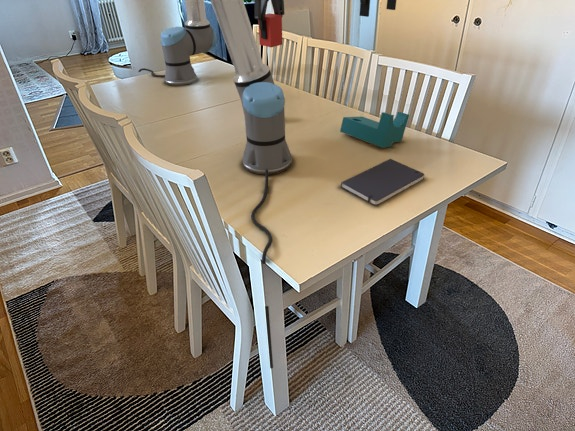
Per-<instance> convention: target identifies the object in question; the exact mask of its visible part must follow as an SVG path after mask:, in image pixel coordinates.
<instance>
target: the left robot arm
mask: <svg viewBox="0 0 575 431" xmlns="http://www.w3.org/2000/svg"><path fill="white" fill-rule="evenodd" d="M269 1H270V2H271V6H272V9H273V14H276V15H282V18H283V16H284V15H285V1H284V0H254V3H253V4H254V6H253V7H254V10H253V12H254V17H253V18H254V20H257V21H258V20H259V23H258V29H259V28H260V30H261V38H263V39H267V25H266V21H265V15H266V14H267V8H268V3H269ZM184 4H185V10H186V11H185V12H186V17H187V19H186V21H184V27H183V26H173V27H169V28H166V29H164V30H162V31H161V33H160V36H159V38H160V45H161V49H162V53H163V59H164V63H165V72H164V74H154V70H153V69H150V68H140V69H139V70H138V71H137V72H138V73H141V72H143V71H146V72H150V75H151V76H153V77H156V78H164V83H165V85H167V86H170V87H171V86H172V87H183V86H189V85H192V84H195V83H196V82H197V81H198V75H197V73H196V72H195V68H194V67H193V65H192V63H191V62H192V61H191V57H192V56H196V55H200V54H205V53H208V52H211V51H213V50H214V48H215V47H216V45H217V33H216V30H215V28H214V26H213V25H211V23H210V22H211V21H210V20H208V19H207V14H206V5H205V0H184Z"/></svg>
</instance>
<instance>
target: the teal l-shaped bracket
mask: <svg viewBox="0 0 575 431" xmlns="http://www.w3.org/2000/svg"><path fill="white" fill-rule="evenodd" d="M394 117H395V118H394ZM409 118H410V114H408V113H404V112H401V111H397V113H396V116H395V115H394V114H392V113H388V112H383V111H382V112H381V115H380V118H379V121H377V120H373V119H370V118H367V117H366V116H343V117H342V122H341V126H340V130H339V132H340V133H342V134H346V135H348V136H350V137H353V138H356V139H358V140H361V141H363V142H366V143H369V144H371V145H374V146H376V147H379V148H381V149H384V148H392V147H393V144H394V143H398V142H399V143H400V142H402V141H403V137H404V134H405V131H406V128H407V124H408V121H409Z"/></svg>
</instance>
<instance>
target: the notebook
mask: <svg viewBox="0 0 575 431" xmlns="http://www.w3.org/2000/svg"><path fill="white" fill-rule="evenodd" d="M424 176H425V173H424V172H422V171H420V170H417V169H415V168H413V167H410V166H408V165H406V164H404V163H401V162H399V161H397V160H395V159H393V158H389V159H387V160H385V161H382V162H380V163H379V164H377V165H375V166H372V167H370V168H368V169H366V170H364V171H362V172H360V173H358V174H356V175H353V176H351V177H350V178H348V179H345V180H344V181H341V182H340V183H341V184H340V187H341V188H342V189H344V190H345V191H347V192H349V193H350V194H353V195H355V196H356V197H358V198H360V199H362V200H363V201H365V202H367V203H369V204H371V205H373V206H379V205H381V204H382V203H384V202H386V201H388V200H390V199H391V198H393V197H395V196H397V195H398V194H400V193H402V192H404V191H406V190H407V189H409V188H411V187H413V186H415V185H416V184H418V183H420V182H422V181H423V180H424Z"/></svg>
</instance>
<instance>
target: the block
mask: <svg viewBox="0 0 575 431" xmlns="http://www.w3.org/2000/svg"><path fill="white" fill-rule="evenodd" d="M265 21H266V25H267V39H263V38H261V30H260V28H259V27H258V39H259V41H258V42H259V46H263V47H266V48H275V47H278V46H282V45H283V17H282V15H276V14H274V13H266V15H265ZM257 22H258V24H259V20H257Z"/></svg>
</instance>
